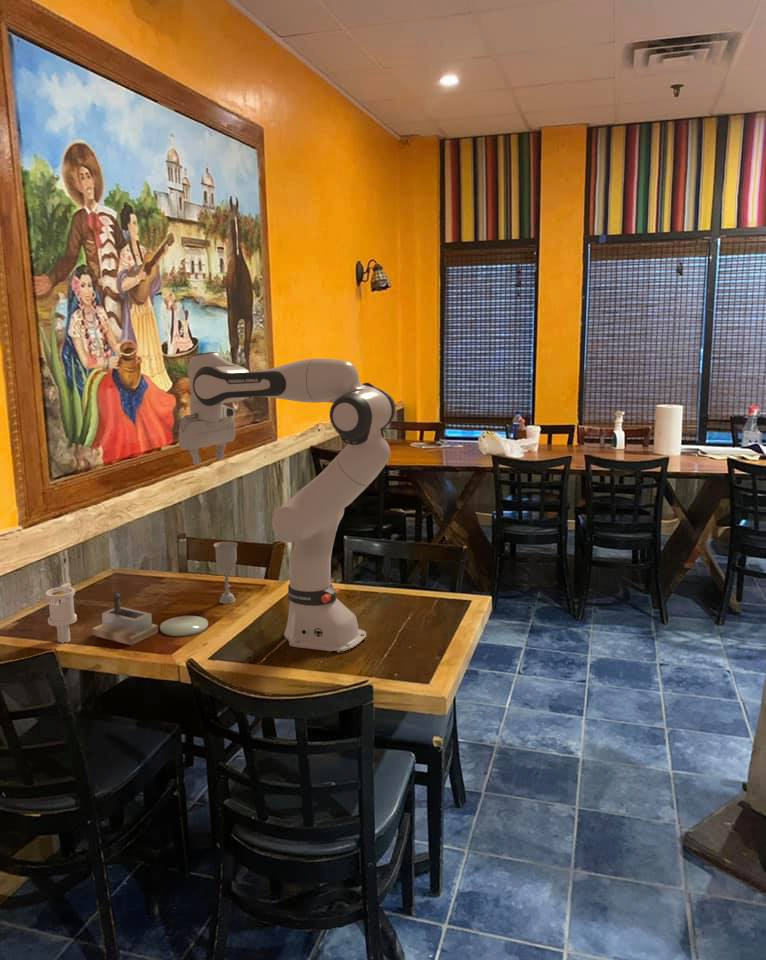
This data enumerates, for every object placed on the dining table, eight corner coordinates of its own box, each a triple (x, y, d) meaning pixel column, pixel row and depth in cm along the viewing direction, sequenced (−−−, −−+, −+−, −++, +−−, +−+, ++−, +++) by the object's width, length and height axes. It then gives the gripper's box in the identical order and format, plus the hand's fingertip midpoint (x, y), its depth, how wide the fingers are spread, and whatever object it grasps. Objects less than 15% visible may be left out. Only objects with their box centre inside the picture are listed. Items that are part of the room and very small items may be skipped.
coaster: (217, 623, 215) (217, 620, 215) (186, 639, 204) (186, 636, 203) (181, 615, 221) (181, 612, 220) (149, 630, 209) (149, 628, 209)
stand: (158, 631, 209) (156, 593, 206) (131, 645, 200) (128, 604, 198) (120, 622, 215) (117, 585, 212) (92, 635, 206) (89, 596, 204)
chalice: (242, 597, 235) (240, 542, 232) (236, 605, 229) (234, 548, 225) (219, 596, 236) (217, 541, 232) (212, 604, 229) (210, 547, 226)
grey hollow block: (152, 627, 206) (151, 613, 206) (135, 635, 201) (135, 621, 200) (119, 619, 212) (118, 606, 211) (102, 627, 206) (101, 613, 206)
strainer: (84, 637, 205) (80, 584, 202) (66, 647, 198) (62, 592, 195) (62, 634, 207) (57, 581, 204) (43, 644, 200) (39, 590, 197)
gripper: (190, 416, 198) (192, 468, 200) (238, 409, 216) (239, 457, 218) (171, 415, 200) (173, 466, 203) (221, 408, 218) (222, 455, 221)
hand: (208, 461), depth 211 cm, fingers open, 8 cm apart
